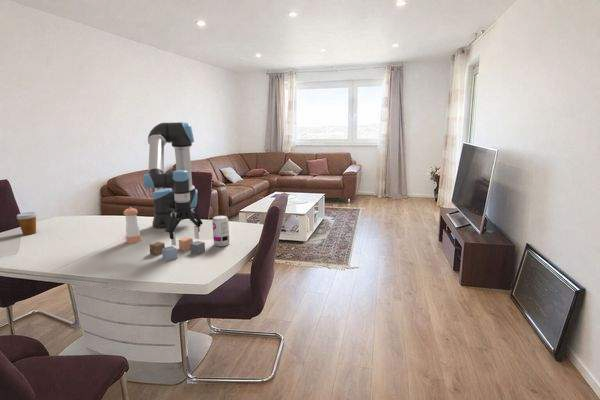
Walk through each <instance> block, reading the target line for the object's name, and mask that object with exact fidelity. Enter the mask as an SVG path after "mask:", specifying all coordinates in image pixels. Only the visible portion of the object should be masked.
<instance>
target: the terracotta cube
mask: <svg viewBox="0 0 600 400" xmlns="http://www.w3.org/2000/svg"><path fill="white" fill-rule="evenodd" d="M193 242H194V240H193V238H191V237H188V236H187V237H183V238H179V239H178V249H180V250H182V251H185V252H186V251H188V250H190V243H193Z"/></svg>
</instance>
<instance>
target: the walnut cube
mask: <svg viewBox="0 0 600 400" xmlns="http://www.w3.org/2000/svg"><path fill="white" fill-rule="evenodd" d="M148 246H149V255H152V256H155V257H156V256H160V255H162V248H166V247H165V242H160V241H156V242H152V243H150V244H149V245H148Z"/></svg>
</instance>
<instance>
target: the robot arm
mask: <svg viewBox="0 0 600 400" xmlns="http://www.w3.org/2000/svg"><path fill="white" fill-rule="evenodd" d="M147 143H148V145H149V146H148V147H149V149H148V167H147V168H148V172H147V173H144V174H143V175H142V176H143V177H142V179H143V180H142V182H143V186H144V188H145V189H157V190H155V191H154V192H153V193H152V202H153V211H154V212H153V213H154V216H153V218H152V219H153V220H152V228H154V229H164V230H165V231H164V232H165V233H168V235H169V239H170V241H171V246H173V247H174V246H177V240H176V232H175V230H176V229H177V227H178V225H179V224H180V222H181V221H183V220H189V221H190V222H191V223H192V224H193V225H194V226H193V227H194V228H193V232H194V239H197V240H199V239H200V234H199V232H201V230H200V227H201V225H203V224H204V222H203V221H202V219H201V217H200V216H199V214H198V212H197V208H195V207H197V204H198V189H197V188H196V187H195V185H193V178H192V166H191V165H192V164H191V163H192V162H191V152H190V150H191V149H190V148H191V147H192V146H193V143H195V139H194V135H193V128H192V125H191V123H189V122H183V121H182V122H179V121H178V122H160V123H158V124H157V125H155V126H154V127H153V128H152V129H151V130H150V131H149V133H148V136H147ZM166 144H171V147H173V149H174V158H175V168H176V170H173V171H172V172H165V154H164V153H165V146H166ZM172 188H173V189H172Z"/></svg>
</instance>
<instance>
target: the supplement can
mask: <svg viewBox="0 0 600 400" xmlns="http://www.w3.org/2000/svg"><path fill="white" fill-rule="evenodd" d="M211 221H212V236H213V245H214V246H215V247H218V246H223V247H227V246H228V245H229V244H230V227H229V218H228V216H227V215H216V216H213V218H212V220H211ZM226 245H227V246H226Z"/></svg>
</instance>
